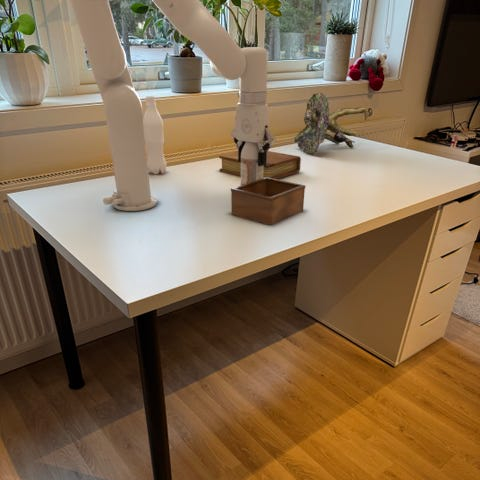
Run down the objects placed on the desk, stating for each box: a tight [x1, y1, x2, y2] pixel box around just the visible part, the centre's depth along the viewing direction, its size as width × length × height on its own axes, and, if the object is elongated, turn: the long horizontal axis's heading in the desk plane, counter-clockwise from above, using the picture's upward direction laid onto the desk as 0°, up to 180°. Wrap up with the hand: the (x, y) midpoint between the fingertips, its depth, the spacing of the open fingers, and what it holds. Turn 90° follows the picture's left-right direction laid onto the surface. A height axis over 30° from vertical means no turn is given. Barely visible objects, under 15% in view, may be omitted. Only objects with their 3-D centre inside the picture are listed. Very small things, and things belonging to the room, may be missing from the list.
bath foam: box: [240, 142, 264, 185], centre depth 136 cm, size 7×7×20 cm
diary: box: [218, 150, 302, 180], centre depth 164 cm, size 23×19×6 cm
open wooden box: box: [230, 177, 306, 226], centre depth 125 cm, size 16×14×7 cm
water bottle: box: [143, 96, 168, 175], centre depth 158 cm, size 7×7×25 cm
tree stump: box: [294, 92, 367, 155], centre depth 194 cm, size 23×26×35 cm
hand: (252, 162), depth 136 cm, fingers closed on bath foam, 7 cm apart
